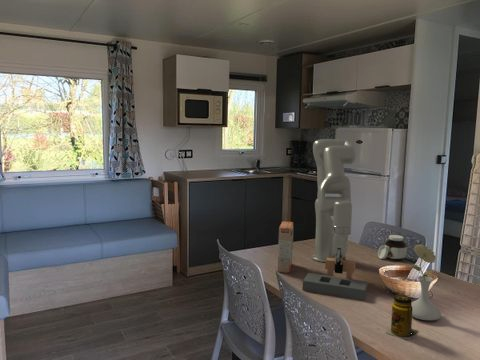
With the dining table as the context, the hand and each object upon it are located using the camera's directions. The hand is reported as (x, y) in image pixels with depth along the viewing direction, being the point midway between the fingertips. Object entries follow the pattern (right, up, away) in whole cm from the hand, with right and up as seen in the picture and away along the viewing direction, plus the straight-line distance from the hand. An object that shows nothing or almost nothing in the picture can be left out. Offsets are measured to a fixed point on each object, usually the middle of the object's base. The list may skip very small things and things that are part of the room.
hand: (340, 269), depth 177 cm
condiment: (+9, -11, -44) cm, 46 cm away
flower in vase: (+21, -9, -32) cm, 39 cm away
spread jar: (+34, -2, +32) cm, 46 cm away
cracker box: (-22, -3, +16) cm, 27 cm away
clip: (0, -5, +1) cm, 5 cm away
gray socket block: (-5, -6, -10) cm, 13 cm away
